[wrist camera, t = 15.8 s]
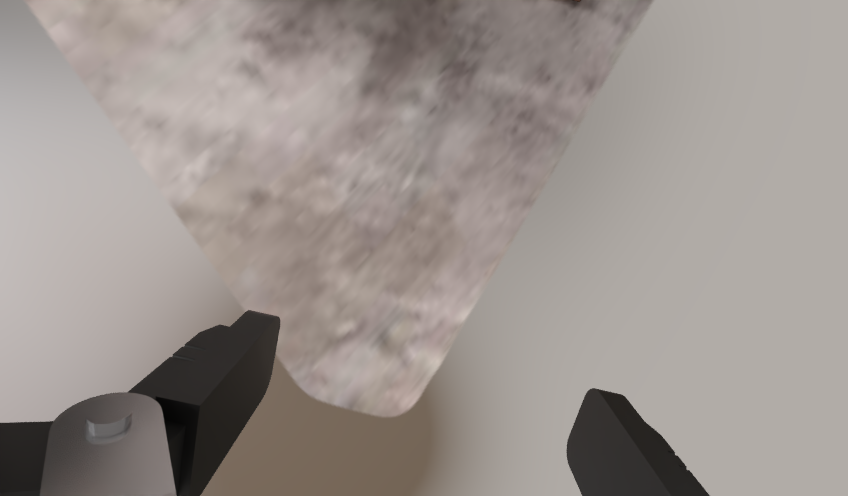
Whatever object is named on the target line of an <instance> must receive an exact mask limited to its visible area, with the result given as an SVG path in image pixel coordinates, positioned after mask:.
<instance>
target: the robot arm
mask: <svg viewBox="0 0 848 496" xmlns="http://www.w3.org/2000/svg"><path fill="white" fill-rule="evenodd" d="M279 329H280V318H279V317H278V316H273V315H269V314H264V313H260V312H255V311H251V310H248V311H246V312H245V313H244V314H243V315H242V316H241V317H240V318H239V319H238V320H237V321H236V322H235V323H233V324H232V325H231V326H230V327H228V326H224V325H218V326H215V327H213V328H210V329H207V330H205V331H202V332H200V333H198V334H197V335H196V336H195V337H193V338H192V339H191V340H190V341H189V342H187V343H186V344H185V346H184V347H181V348H180V349H179V350H178V351H177V352H175V353H174V354H173V357H169V358H168V359H167V360H166V361H165V362H163V363H162V364H161V365H160V366H159V367H157V368H156V369H155V370H154V371H153V372H151V373H150V374H149V375H148V376H147V377H145V378H144V379H143V380H142V381H141V382H139V383H138V384H137V385H136V386H134V387H133V388H132V389H131V390H130V391H129V392H127V393H110V394H105V395H100V396H96V397H93V398H90V399H87V400H84V401H82V402H79V403H77V404H75V405H73V406H72V407H70V408H68V409H67V410H65V411H64V412H63V413H61V414H60V415H59V416H58V417H57V418H56V419H55V420H54V421H50V422H20V423H19V422H18V423H0V496H200V495H201V494H202V492H203V490H204V489H205V487H206V486H207V484H208V483H209V481H210V480H211V478H212V476H213V475H214V473H215V472H216V470H217V469H218V467H219V466H220V464H221V462H222V461H223V459H224V458H225V456H226V455H227V453H228V452H229V450H230V448H231V447H232V445H233V443H234V442H235V441H236V439H237V438H238V436H239V434H240V433H241V431H242V430H243V428H244V427H245V425H246V424H247V422H248V420H249V419H250V417H251V416H252V414H253V413H254V411H255V410H256V408H257V406H258V405H259V403H260V402H261V400H262V399H263V397H264V395H265V393H266V390H267V388H268V385H269V382H270V379H271V375H272V370H273V363H274V358H275V352H276V346H277V341H278V335H279ZM567 460H568V464H569V466H570V468H571V471H572V473H573V475H574V478H575V480H576V482H577V485H578V487H579V489H580V491H581V494H582V496H709V494H708V493H707V492H706V491H705V489H704V488H703V487H702V486H701V484H700V483H699V482H698V481H697V479H696V478H695V477H694V476H693V474H692V473H691V472H690V471H689V470H686V466H685V464H684V463H683V462H682V461H681V459H680V458H679V457H678V456H676V455H675V452H674V451H673V449H672V448H671V447H670V446H669V444H668V443H667V442H666V441H665V439H664V438H663V437H662V436H661V435H660V434H659V433H658V432H657V431H655V430H654V429H653V428H651V426H649V425H648V424H647V423H646V422H644V420H643V419H642V418H641V416H640V415H639V414H638V413H637V411H636V410H635V409H634V408H633V406H632V405H631V404H630V402H629V401H628V400H627V399H626V397H625V396H623V395H621V394H617V393H612V392H608V391H603V390H599V389H595V388H593V389H590V390H589V391H588V392H587V393H586V395H585V397H584V400H583V403H582V405H581V408H580V410H579V413H578V415H577V418H576V420H575V423H574V426H573V428H572V430H571V433H570V436H569V439H568V442H567Z"/></svg>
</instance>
